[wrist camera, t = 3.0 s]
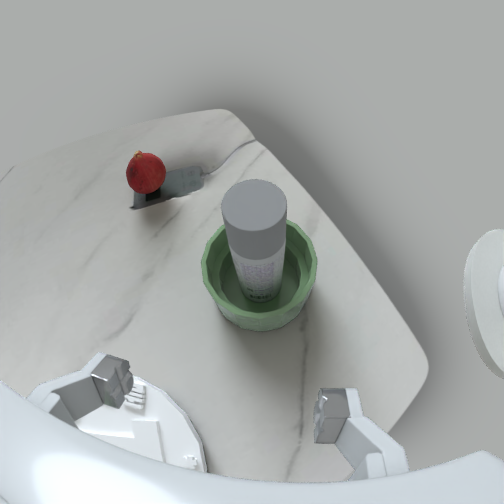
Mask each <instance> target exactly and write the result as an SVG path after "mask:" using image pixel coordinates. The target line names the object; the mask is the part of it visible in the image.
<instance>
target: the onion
mask: <svg viewBox="0 0 504 504" xmlns="http://www.w3.org/2000/svg"><path fill="white" fill-rule="evenodd" d="M165 174H166V169H165V166H164V164H163V162H162V161H161V159H160V158H158V157H157V156H155V155H153V154H150V153H142V152H141V151H136V152H135V154H134V157H133V158H132V159H131V160H130V162H129V164H128V167H127V170H126V176H127V181H128V184H129V186H130V187H131V188H132V189H133V190H134V191H136V192H137V193H141V194H148V193H151V192H154V191H155V190H157V189H158V188H159V187H160V186H161V185H162V183H163V182H164V180H165Z"/></svg>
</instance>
